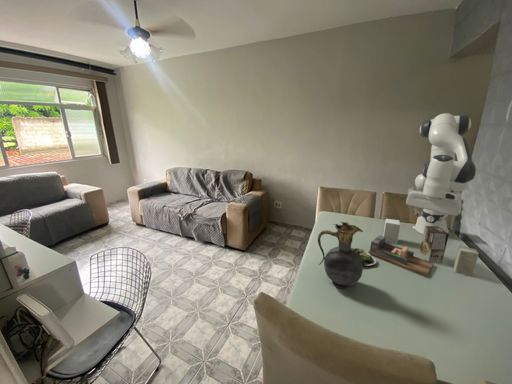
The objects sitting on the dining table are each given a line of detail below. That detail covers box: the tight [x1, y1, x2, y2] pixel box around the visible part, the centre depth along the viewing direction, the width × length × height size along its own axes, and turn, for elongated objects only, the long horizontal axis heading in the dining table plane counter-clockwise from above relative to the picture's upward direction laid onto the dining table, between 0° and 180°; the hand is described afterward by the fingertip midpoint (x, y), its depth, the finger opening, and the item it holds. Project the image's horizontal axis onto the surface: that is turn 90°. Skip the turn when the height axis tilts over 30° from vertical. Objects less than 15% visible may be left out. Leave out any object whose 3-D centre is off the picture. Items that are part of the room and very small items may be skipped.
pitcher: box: [317, 221, 364, 289], centre depth 93 cm, size 11×19×30 cm, turn 65°
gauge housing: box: [367, 234, 435, 278], centre depth 111 cm, size 13×26×8 cm, turn 39°
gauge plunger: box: [391, 246, 409, 258], centre depth 111 cm, size 8×6×5 cm
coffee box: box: [419, 226, 450, 263], centre depth 111 cm, size 9×6×16 cm
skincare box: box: [453, 245, 479, 277], centre depth 100 cm, size 6×4×12 cm
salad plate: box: [351, 247, 377, 268], centre depth 115 cm, size 19×18×5 cm
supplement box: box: [382, 218, 401, 245], centre depth 130 cm, size 7×7×13 cm
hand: (428, 218), depth 104 cm, fingers open, 8 cm apart
